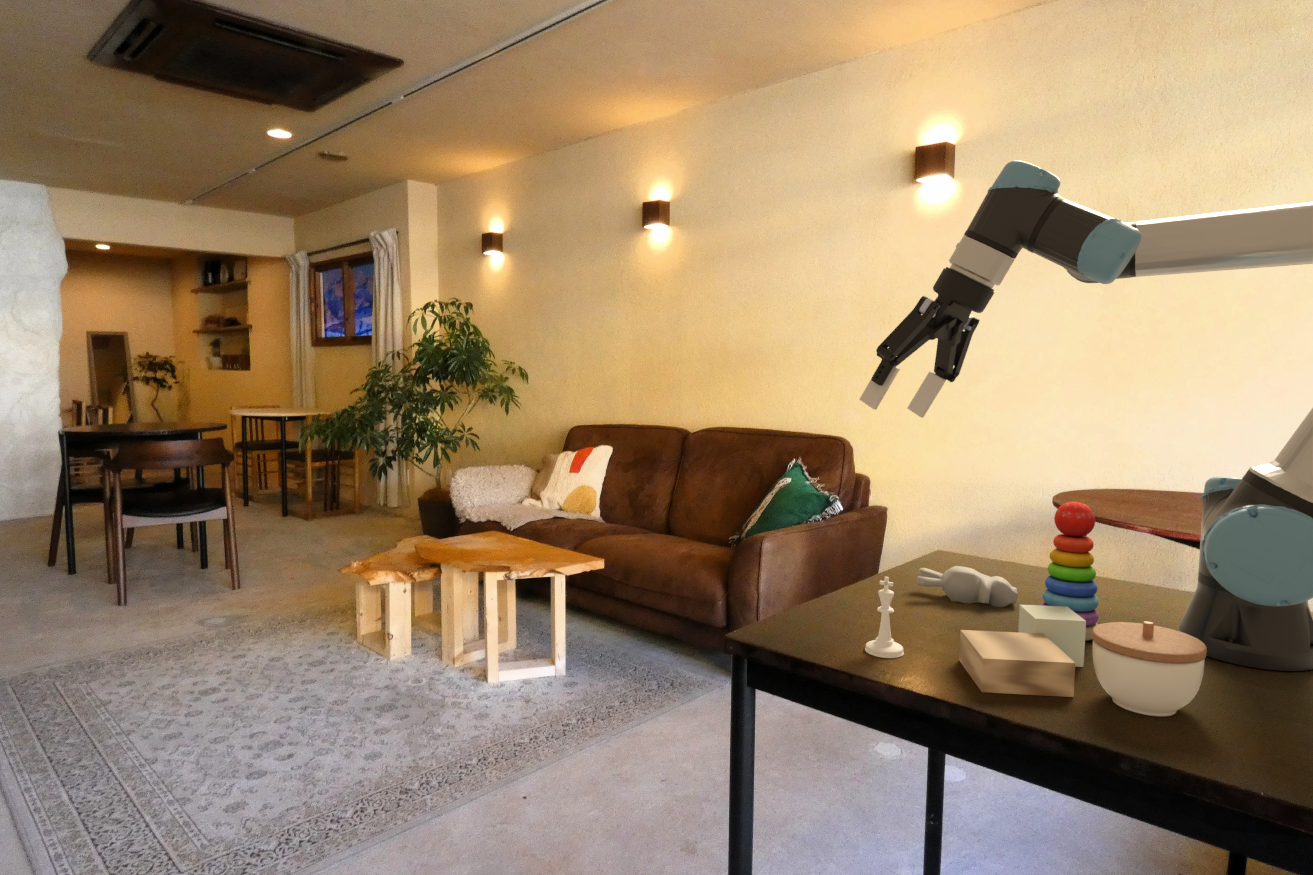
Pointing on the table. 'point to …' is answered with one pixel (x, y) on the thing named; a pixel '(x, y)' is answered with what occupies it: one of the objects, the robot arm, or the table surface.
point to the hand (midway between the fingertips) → (892, 409)
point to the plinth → (1016, 663)
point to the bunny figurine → (970, 586)
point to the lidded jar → (1148, 666)
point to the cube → (1056, 628)
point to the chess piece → (885, 627)
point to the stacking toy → (1073, 565)
